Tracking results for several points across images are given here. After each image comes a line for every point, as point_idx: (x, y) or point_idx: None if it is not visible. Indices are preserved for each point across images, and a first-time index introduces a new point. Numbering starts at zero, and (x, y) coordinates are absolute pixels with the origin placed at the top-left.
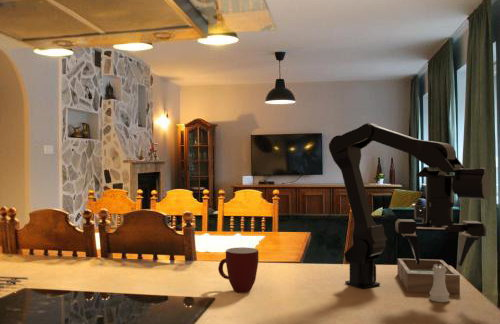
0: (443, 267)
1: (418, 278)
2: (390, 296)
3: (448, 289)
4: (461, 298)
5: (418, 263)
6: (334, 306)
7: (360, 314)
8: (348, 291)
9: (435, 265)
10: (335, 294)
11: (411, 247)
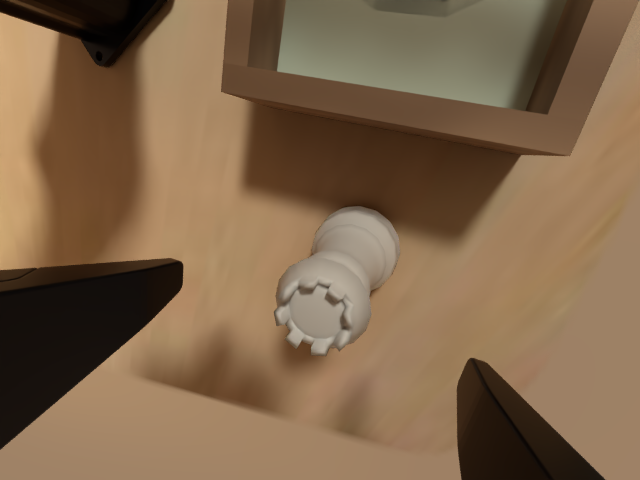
0: (340, 328)
1: (292, 107)
2: (191, 179)
3: (463, 142)
4: (478, 230)
5: (173, 292)
6: None
7: None
8: (66, 105)
9: (301, 279)
10: (35, 146)
11: (15, 271)
